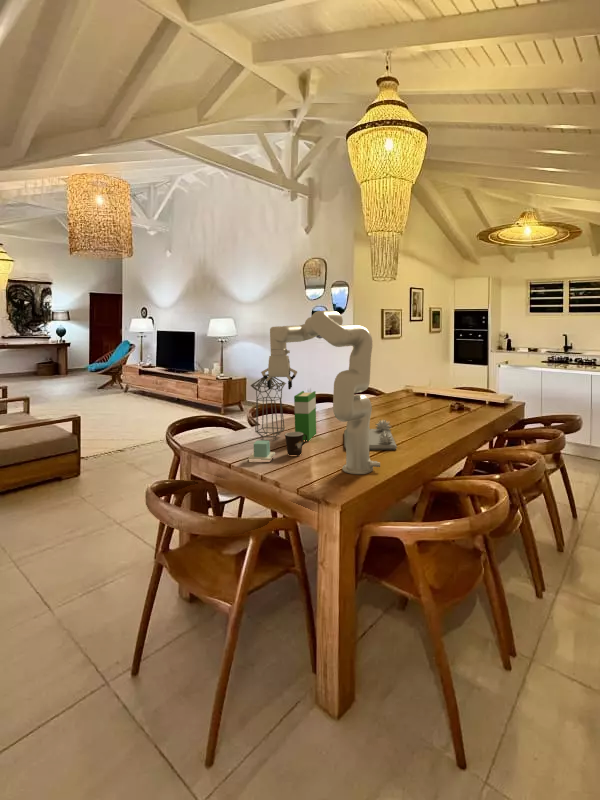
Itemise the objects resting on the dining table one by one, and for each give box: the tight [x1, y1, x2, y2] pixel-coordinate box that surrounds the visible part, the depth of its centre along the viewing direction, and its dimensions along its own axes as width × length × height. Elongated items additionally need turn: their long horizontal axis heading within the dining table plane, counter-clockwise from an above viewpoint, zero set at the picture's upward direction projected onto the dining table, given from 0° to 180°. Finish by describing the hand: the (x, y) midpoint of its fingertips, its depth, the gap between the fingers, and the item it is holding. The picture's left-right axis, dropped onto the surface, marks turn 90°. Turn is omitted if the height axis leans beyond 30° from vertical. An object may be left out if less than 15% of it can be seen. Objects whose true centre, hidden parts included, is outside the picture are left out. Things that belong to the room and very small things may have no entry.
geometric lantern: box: [250, 373, 287, 439], centre depth 242 cm, size 16×16×35 cm
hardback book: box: [293, 390, 317, 441], centre depth 243 cm, size 18×7×24 cm, turn 166°
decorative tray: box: [343, 418, 398, 451], centre depth 234 cm, size 35×26×10 cm
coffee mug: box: [284, 431, 307, 455], centre depth 213 cm, size 12×9×10 cm
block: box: [253, 439, 271, 457], centre depth 207 cm, size 6×6×6 cm
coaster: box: [248, 451, 276, 460], centre depth 207 cm, size 10×10×2 cm
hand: (279, 388), depth 216 cm, fingers open, 9 cm apart
